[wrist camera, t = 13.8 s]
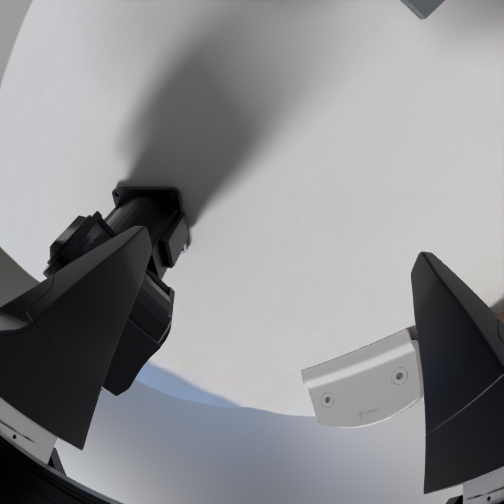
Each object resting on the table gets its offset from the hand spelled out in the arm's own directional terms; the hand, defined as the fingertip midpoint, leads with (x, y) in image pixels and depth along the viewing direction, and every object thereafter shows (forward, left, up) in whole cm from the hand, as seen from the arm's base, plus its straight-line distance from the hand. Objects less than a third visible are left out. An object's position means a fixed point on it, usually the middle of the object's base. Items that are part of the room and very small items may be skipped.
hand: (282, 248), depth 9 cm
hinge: (+12, -29, -13) cm, 34 cm away
